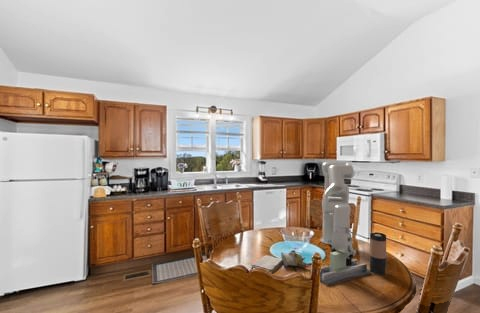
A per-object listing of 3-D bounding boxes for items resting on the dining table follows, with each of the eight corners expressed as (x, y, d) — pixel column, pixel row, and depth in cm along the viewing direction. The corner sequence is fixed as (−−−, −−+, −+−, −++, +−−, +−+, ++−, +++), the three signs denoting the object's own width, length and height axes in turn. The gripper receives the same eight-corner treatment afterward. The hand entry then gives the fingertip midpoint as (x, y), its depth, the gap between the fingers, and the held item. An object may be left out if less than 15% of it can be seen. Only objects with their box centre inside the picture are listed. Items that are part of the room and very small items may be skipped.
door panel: (346, 267, 130) (346, 249, 130) (351, 270, 127) (351, 251, 127) (329, 272, 125) (329, 252, 125) (333, 274, 122) (334, 254, 122)
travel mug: (385, 276, 124) (386, 237, 124) (368, 272, 128) (369, 235, 128) (386, 270, 130) (386, 233, 130) (369, 267, 134) (370, 231, 134)
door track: (351, 264, 138) (352, 257, 138) (371, 273, 127) (371, 266, 127) (310, 274, 125) (310, 266, 125) (327, 286, 114) (327, 277, 114)
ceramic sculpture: (279, 245, 141) (305, 247, 141) (278, 260, 141) (304, 262, 141) (283, 253, 130) (311, 255, 130) (282, 269, 130) (309, 271, 130)
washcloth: (250, 269, 131) (250, 263, 131) (265, 258, 146) (265, 252, 146) (270, 275, 124) (270, 269, 124) (283, 262, 140) (283, 257, 140)
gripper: (361, 233, 120) (360, 267, 120) (334, 223, 135) (333, 254, 136) (350, 235, 117) (349, 270, 117) (323, 225, 132) (323, 256, 133)
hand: (341, 261), depth 126 cm, fingers open, 9 cm apart
